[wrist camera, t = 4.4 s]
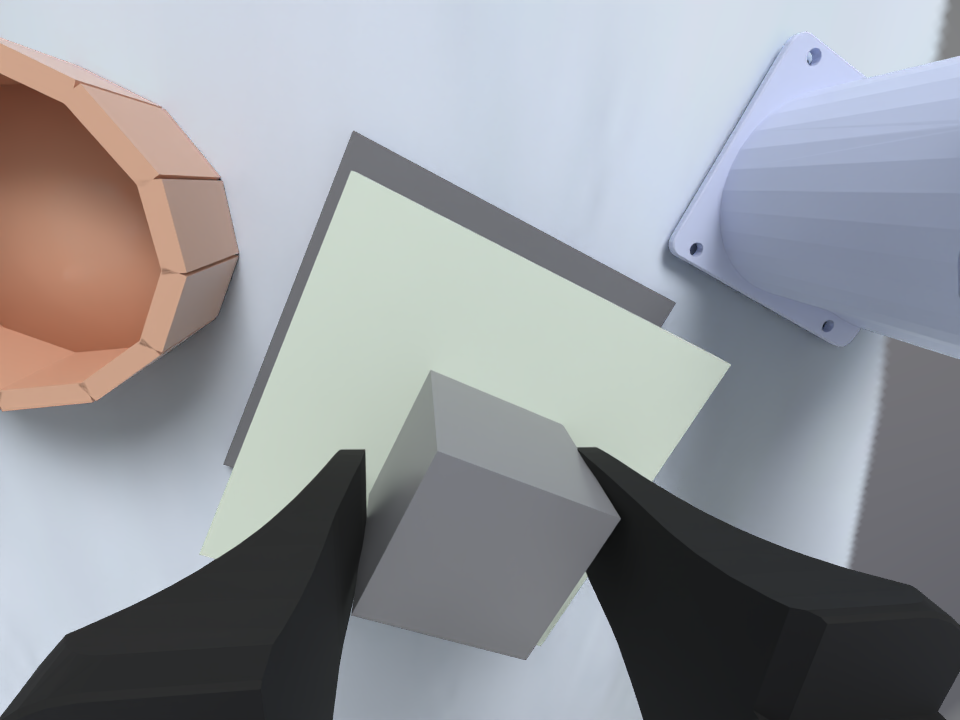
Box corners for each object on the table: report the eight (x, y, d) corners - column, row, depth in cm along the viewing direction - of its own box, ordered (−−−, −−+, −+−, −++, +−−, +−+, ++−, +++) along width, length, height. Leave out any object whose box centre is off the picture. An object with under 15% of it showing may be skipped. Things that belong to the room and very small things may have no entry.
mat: (669, 300, 19) (676, 303, 18) (515, 550, 22) (518, 558, 22) (354, 132, 15) (352, 130, 15) (227, 457, 19) (223, 464, 18)
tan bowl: (272, 161, 15) (227, 153, 12) (189, 395, 18) (129, 451, 14) (-57, -2, 13) (-245, -76, 9) (-104, 293, 15) (-271, 327, 12)
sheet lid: (714, 354, 14) (854, 434, 10) (535, 625, 17) (578, 785, 12) (355, 171, 11) (314, 162, 7) (210, 534, 14) (113, 700, 9)
